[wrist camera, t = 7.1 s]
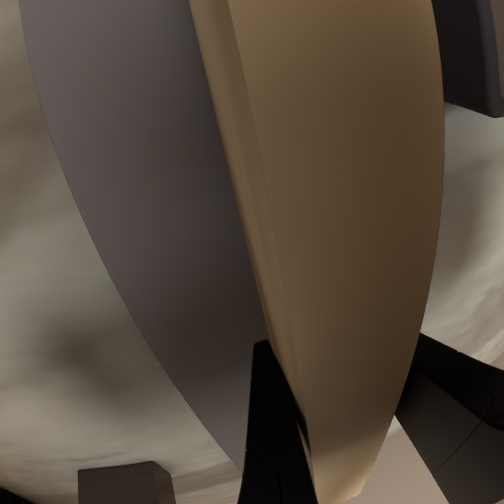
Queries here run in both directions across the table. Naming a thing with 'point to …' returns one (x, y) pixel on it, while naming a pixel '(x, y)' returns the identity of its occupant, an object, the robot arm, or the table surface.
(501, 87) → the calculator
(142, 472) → the bracket
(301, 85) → the beech rail
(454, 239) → the table surface
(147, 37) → the rubber mat
